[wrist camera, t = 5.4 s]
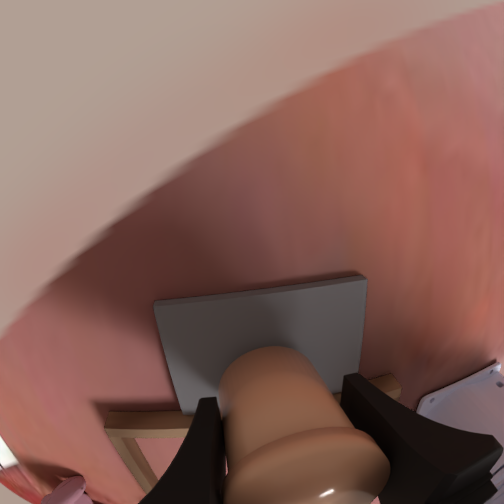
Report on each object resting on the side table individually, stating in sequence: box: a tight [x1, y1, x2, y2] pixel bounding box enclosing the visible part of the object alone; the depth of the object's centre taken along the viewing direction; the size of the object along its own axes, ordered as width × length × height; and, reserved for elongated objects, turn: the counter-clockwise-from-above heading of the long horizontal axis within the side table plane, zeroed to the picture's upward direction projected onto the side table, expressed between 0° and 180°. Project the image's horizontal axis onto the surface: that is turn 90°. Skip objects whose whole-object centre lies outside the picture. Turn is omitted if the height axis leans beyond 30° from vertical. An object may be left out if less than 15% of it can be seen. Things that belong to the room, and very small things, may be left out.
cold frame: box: [104, 374, 402, 504], centre depth 17 cm, size 18×15×3 cm
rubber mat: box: [153, 275, 368, 415], centre depth 15 cm, size 10×7×1 cm
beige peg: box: [218, 346, 391, 504], centre depth 10 cm, size 5×5×7 cm
